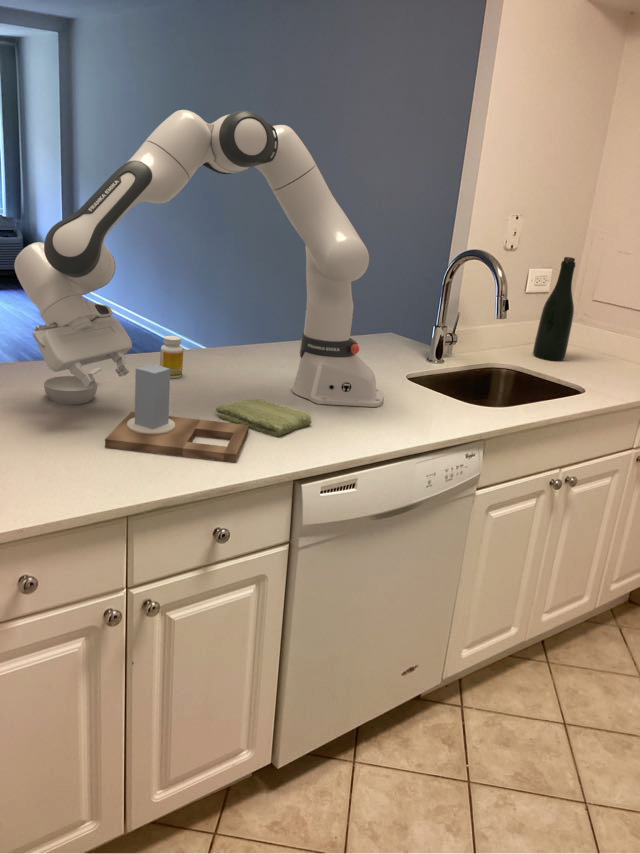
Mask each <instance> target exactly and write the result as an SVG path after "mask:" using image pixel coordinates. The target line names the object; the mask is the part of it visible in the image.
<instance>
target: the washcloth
mask: <svg viewBox="0 0 640 854" xmlns="http://www.w3.org/2000/svg"><path fill="white" fill-rule="evenodd" d="M215 411H216V412H217V413H218V415H217V417H218V419H221V420H223V421H226V422H229V421H230V422H229V423H232V422H233V423H234V424H243V425H249V430H250V429H251V430H254V431H256V432H261V433H264V434H266V435H270V436H273V437H280V436H282V435H284V434H289V433H291V432H292V431H294V430H296V429H298V430H299V429H301V428H304V427H305V428H306V427H308V426H309V425H310V424H312V419H311V416H310V414H309V413H308V412H306V411H304V410H298V409H294V408H291V407H289V406H286V405H285V406H284V405H280V404H277V403H273V402H270V401H267V400H264V399H260V398H248V399H244V400H243V399H242V400H237V401H231V402H230V403H228V404H226V405H225V404H222V405H217V406H216V408H215Z"/></svg>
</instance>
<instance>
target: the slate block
mask: <svg viewBox="0 0 640 854" xmlns="http://www.w3.org/2000/svg"><path fill="white" fill-rule="evenodd" d="M134 383H135V384H134V386H135V389H134V393H135V394H134V397H135V398H134V401H135V402H134V412H135V424H137V425H141V426H144V427H147V428H150V429H156V428H158V427H161V426H163V425H166V424H168V421H169V416H170V387H171V378H170V369H169V368H165V367H161V366H160V365H158V364H153V363H150V364H146V365H144V366H139V367H136V368H135V382H134Z"/></svg>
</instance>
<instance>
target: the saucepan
mask: <svg viewBox="0 0 640 854" xmlns="http://www.w3.org/2000/svg"><path fill="white" fill-rule="evenodd" d="M100 371H102V367H95V368H94V369H92V370H90V371H88V372H87V373H88V374H90V373H91V374H92V375H93V376H94V375H96V374H97V373H99V372H100ZM43 388H44V392H45V394H46V396H47V397H48V398H49V400H50V401H52V402H53V403H57V404H60V405H71V406H73V405H81V404H82V403H83V404H87V403H89V402H90V400H91V401H92V400H93V398H94V397H95V395H96V393H97V390H98V382H97V381H96V380H95V382H94V383H93V384H92V385H89V386H85V385H84V384H83V382H82V381H81V379H79V378H77V377H76V376H74V375H62V376H55V377H50V378H48V379H45V380H44V381H43ZM88 401H89V402H88Z"/></svg>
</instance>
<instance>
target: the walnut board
mask: <svg viewBox="0 0 640 854" xmlns="http://www.w3.org/2000/svg"><path fill="white" fill-rule="evenodd" d="M132 418H135V411H130V412H129V413H128V415H126V417H124V419H122V421H121V422H120V423H118V425H117V426H116V427H115V428H114V429H113V430H112V431H111V432H110V433H109V434H108V436H106V438H104V447H105V448H108V449H117V450H125V451H133V452H134V451H135V452H142V453H151V454H159V455H168V456H176V457H177V456H178V457H184V458H185V457H186V458H191V459H192V458H193V459H202V460H211V461H220V462H227V463H228V462H229V463H236V462H237V460H238V458H239V456H240V453H241V451H242V449H243V446H244V444H245V441H246V439H247V437H248V434H249V431H250V428H249V425H243V424H235V423H232V422H227V421H226V422H224V421H214V420H210V419H209V420H206V419H199V418H192V417H191V418H190V417H183V416H182V417H181V416H175V415H174V416H172V415H169V419H171V420H172V421H174V422H175V429H174V430H173V431H171V432H169V433H166V434H160V435H145V434H139V433H135V432H133V431H131V430H129V429H128V427H127V422H128V421H129V420H130V419H132ZM195 437H200V438H201V437H202V438H210V439H218V440H227V441H229V442H228V444H227V445H226V446H225V445H216V444H208V443H202V442H201V443H200V442H193V440H194V439H195Z"/></svg>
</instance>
